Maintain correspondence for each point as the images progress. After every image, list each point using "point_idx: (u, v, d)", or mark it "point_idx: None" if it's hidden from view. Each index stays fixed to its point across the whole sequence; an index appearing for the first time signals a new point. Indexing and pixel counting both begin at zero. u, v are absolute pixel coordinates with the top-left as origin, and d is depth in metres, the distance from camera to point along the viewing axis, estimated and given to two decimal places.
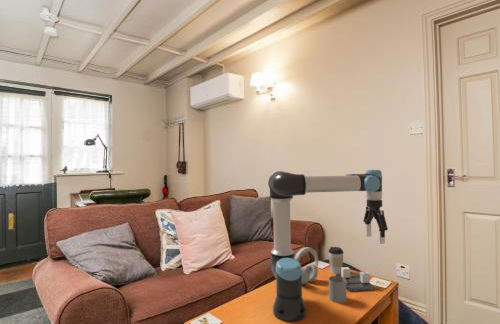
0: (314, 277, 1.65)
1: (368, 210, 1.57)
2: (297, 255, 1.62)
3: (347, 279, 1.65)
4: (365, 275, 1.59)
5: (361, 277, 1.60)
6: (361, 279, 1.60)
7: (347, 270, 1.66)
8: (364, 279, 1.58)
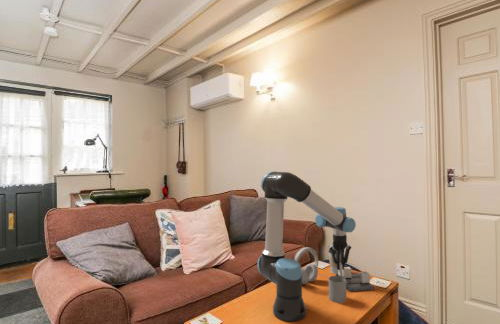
0: (314, 277, 1.65)
1: (346, 247, 1.68)
2: (297, 255, 1.62)
3: (347, 279, 1.65)
4: (365, 275, 1.59)
5: (361, 277, 1.60)
6: (361, 279, 1.60)
7: (348, 270, 1.66)
8: (364, 279, 1.58)
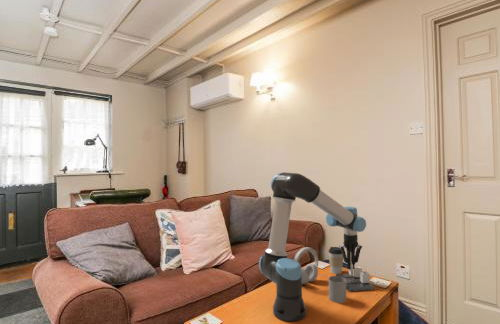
0: (314, 277, 1.65)
1: (357, 247, 1.69)
2: (297, 255, 1.62)
3: (347, 279, 1.65)
4: (365, 275, 1.59)
5: (361, 277, 1.60)
6: (361, 279, 1.60)
7: (359, 269, 1.67)
8: (364, 279, 1.58)
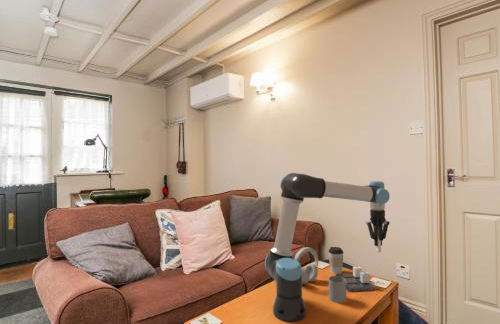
0: (314, 277, 1.65)
1: None
2: (297, 255, 1.62)
3: (347, 279, 1.65)
4: (365, 275, 1.59)
5: (361, 277, 1.60)
6: (361, 279, 1.60)
7: (359, 269, 1.67)
8: (364, 279, 1.58)
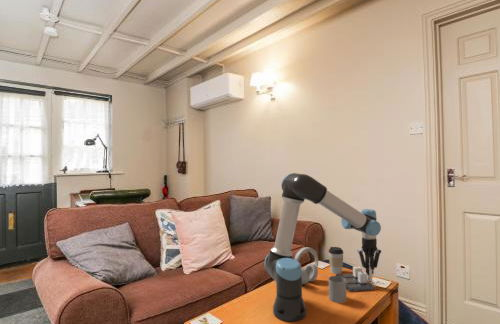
0: (314, 277, 1.65)
1: (376, 251, 1.61)
2: (297, 255, 1.62)
3: (347, 279, 1.65)
4: (363, 275, 1.58)
5: (359, 277, 1.60)
6: (359, 279, 1.60)
7: (359, 269, 1.67)
8: (362, 279, 1.58)
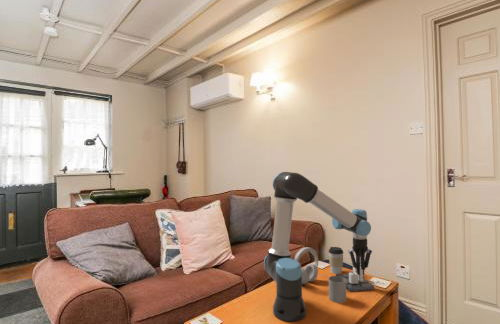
0: (314, 277, 1.65)
1: (367, 251, 1.61)
2: (297, 255, 1.62)
3: (347, 279, 1.65)
4: (354, 276, 1.58)
5: (350, 278, 1.59)
6: (350, 280, 1.59)
7: None
8: (352, 280, 1.58)
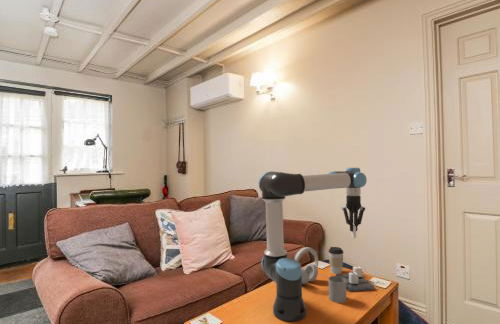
0: (314, 277, 1.65)
1: None
2: (297, 255, 1.62)
3: (347, 279, 1.65)
4: (354, 276, 1.58)
5: (350, 278, 1.59)
6: (350, 280, 1.59)
7: (359, 269, 1.67)
8: (352, 280, 1.58)
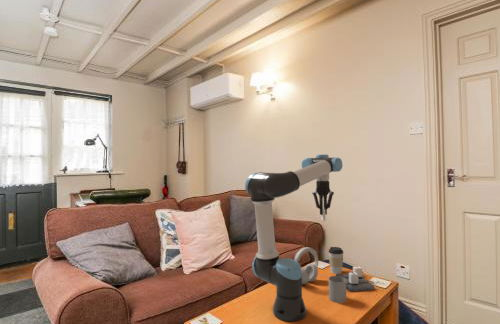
0: (314, 277, 1.65)
1: (329, 193, 1.73)
2: (297, 255, 1.62)
3: (347, 279, 1.65)
4: (354, 276, 1.58)
5: (350, 278, 1.59)
6: (350, 280, 1.59)
7: (359, 269, 1.67)
8: (352, 280, 1.58)
